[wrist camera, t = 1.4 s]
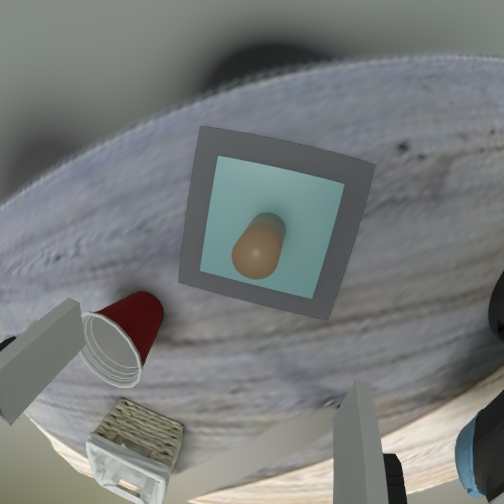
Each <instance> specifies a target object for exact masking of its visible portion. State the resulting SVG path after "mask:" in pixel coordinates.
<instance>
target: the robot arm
mask: <svg viewBox="0 0 504 504" xmlns="http://www.w3.org/2000/svg"><path fill="white" fill-rule="evenodd" d="M489 323H490V327H491V329H492V331H493V332H494V334H495V335H496V336H497V338H498V339H499V340H500V341H501V342H503V343H504V273H503V274H502V276H501V278H500V279H499V281H498V283H497V285H496V287H495V290H494V292H493V295H492V298H491V302H490V307H489ZM84 346H85V339H84V333H83V326H82V318H81V310H80V302H77V301H75V300H73V299H70V298H67V299H66V300H65V301H63V302H62V303H61V304H59V305H58V306H57V307H55V308H54V309H53V310H52V311H50V312H49V313H48V314H46V315H45V316H44V317H43V318H41V319H40V320H39V321H37V322H36V323H35V324H34V325H32V326H31V327H30V328H29V329H27V330H26V331H25V332H24V333H22V334H21V335H20V336H19V337H18V338H16V337H15V336H14V337H11V338H9V339H6V340H4V341H3V342H2V343H1V344H0V418H2V419H3V420H4V421H5V422H6V423H8V424H9V425H10V426H11V425H12V424H13V422H15V420H16V419H17V418H18V417H19V416H20V415H21V414H22V413H23V411H24V410H25V409H26V408H27V407H28V406H29V405H30V404H31V402H32V401H33V400H34V399H35V398H36V397H37V396H38V395H39V394H40V393H41V392H42V390H43V389H44V388H45V387H46V386H47V385H48V384H49V383H50V382H51V381H52V380H53V379H54V378H55V377H56V375H57V374H58V373H59V372H60V371H61V370H62V369H63V368H64V367H65V366H66V365H67V364H68V363H69V362H70V361H71V360H72V359H73V358H74V357H75V356H76V355H77V354H78V353H79V352H80V351H81V349H82V348H83V347H84ZM333 450H334V488H333V504H407V498H406V490H405V486H404V477H403V471H402V465H401V462H400V461H399V459H398V458H397V456H396V454H384V453H383V452H382V445H381V438H380V432H379V426H378V420H377V414H376V409H375V403H374V398H373V393H372V388H371V383H369V382H362V381H356V380H355V381H354V383H353V385H352V387H351V388H350V390H349V392H348V394H347V395H346V397H345V399H344V401H343V402H342V404H341V406H340V407H339V409H338V411H337V412H336V414H335V416H334V417H333ZM455 463H456V468H457V472H458V476H459V479H460V481H461V483H462V485H463V487H464V488H465V489H467V492H468V494H469V495H471V496H472V497H475V498H479V497H484V496H486V498H487V500H488V503H489V504H504V390H503V391H502V392H501V393H500V394H499V395H498V396H497V397H496V398H495V399H494V400H493V401H492V402H491V403H490V404H488V405H487V406H486V407H485V408H484V409H482V410H480V411H479V412H478V413H477V415H476V416H475V417H474V418H473V419H472V420H471V421H470V422H469V423H468V424H467V425H466V426H465V427H464V428H463V429H462V430H461V431H460V433H459V435H458V437H457V440H456V445H455Z"/></svg>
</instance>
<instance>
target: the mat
mask: <svg viewBox="0 0 504 504" xmlns="http://www.w3.org/2000/svg"><path fill="white" fill-rule="evenodd" d="M220 155H221V156H226V157H232V158H237V159H242V160H247V161H252V162H257V163H262V164H266V165H271V166H276V167H280V168H285V169H289V170H293V171H298V172H302V173H306V174H310V175H314V176H318V177H322V178H326V179H330V180H334V181H337V182H341V183H344V184H345V185H344V189H343V193H342V197H341V201H340V205H339V208H338V212H337V216H336V220H335V223H334V227H333V230H332V234H331V238H330V241H329V245H328V248H327V252H326V255H325V258H324V262H323V265H322V268H321V272H320V275H319V278H318V281H317V285H316V288H315V291H314V294H313V297H312V299H310V298H306V297H302V296H297V295H293V294H289V293H285V292H281V291H277V290H273V289H269V288H265V287H261V286H257V285H253V284H249V283H245V282H241V281H237V280H233V279H229V278H225V277H222V276H218V275H214V274H210V273H206V272H203V271H200V266H201V259H202V252H203V245H204V238H205V232H206V225H207V219H208V212H209V206H210V200H211V194H212V188H213V182H214V176H215V170H216V165H217V159H218V156H220ZM374 168H375V164H372V163H368V162H365V161H362V160H358V159H355V158H351V157H348V156H344V155H340V154H337V153H333V152H329V151H325V150H321V149H317V148H313V147H309V146H305V145H300V144H296V143H292V142H287V141H282V140H278V139H273V138H268V137H263V136H258V135H252V134H247V133H241V132H235V131H229V130H223V129H217V128H210V127H203V126H200V131H199V136H198V142H197V148H196V154H195V160H194V166H193V172H192V178H191V185H190V191H189V198H188V205H187V213H186V220H185V228H184V236H183V244H182V253H181V262H180V271H179V283H182V284H186V285H189V286H193V287H196V288H200V289H204V290H207V291H211V292H215V293H218V294H222V295H226V296H229V297H233V298H237V299H241V300H245V301H249V302H253V303H256V304H260V305H264V306H268V307H272V308H277V309H281V310H285V311H289V312H293V313H297V314H302V315H306V316H310V317H315V318H319V319H323V320H328V318H329V316H330V313H331V310H332V307H333V305H334V302H335V299H336V296H337V293H338V290H339V287H340V285H341V282H342V279H343V276H344V273H345V270H346V267H347V263H348V260H349V257H350V254H351V251H352V248H353V244H354V241H355V238H356V234H357V231H358V228H359V224H360V221H361V217H362V214H363V210H364V206H365V203H366V199H367V195H368V192H369V188H370V184H371V180H372V176H373V172H374Z"/></svg>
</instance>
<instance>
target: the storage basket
mask: <svg viewBox="0 0 504 504" xmlns="http://www.w3.org/2000/svg"><path fill="white" fill-rule="evenodd" d="M126 402H127V403H126ZM183 429H184V427H183V426H182V425H181V424H180V423H178V422H176V421H174V420H170V419H168V418H166V417H164V416H161V415H159V414H157V413H155V412H153V411H150V410H148V409H146V408H144V407H142V406H139V405H137V404H136V403H134V402H132V401H129V400H126V399H123V398H121V399H120V400H119V401H118V402H117V403H116V404H115V406H114V408H113V409H111V410H110V412H109V414H108V415H106V416H105V417H104V419H103V421H102V422H101V423H100V425H99V426H98V427H97V429H96V430H95V431H94V432H90V434H89V436H88V439H87V441H86V450H87V455H88V459H89V462H90V465H91V469H92V473H93V476H94V478H95V479H96V481H97V482H98V483H99V485H100V486H103V487H105V488H106V489H108V490H110V491H112V492H114V493H116V494H118V495H120V496H122V497H124V498H126V499H128V500H130V501H132V502H134V503H137V504H163V501H164V497H165V493H166V491H167V486H168V483H169V479H170V475H171V473H172V472H173V471H172V470H173V469H174V465H175V463H176V460H177V458H178V454H179V451H180V448H181V443H182V439H183ZM120 479H124V480H127V481H129V482H131V483H133V484H135V485H138V486H140V487H141V488H142V489H143V491H142V493H141V495H140V494H138V493H136V492H134V491H131V490H130V489H127V488H125V487H123V486H121V485H118V483H119V480H120Z"/></svg>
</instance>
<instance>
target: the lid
mask: <svg viewBox="0 0 504 504" xmlns="http://www.w3.org/2000/svg"><path fill="white" fill-rule="evenodd" d="M344 185H345V184H344V183H341V182H337V181H334V180H330V179H326V178H322V177H318V176H314V175H310V174H306V173H302V172H298V171H293V170H289V169H285V168H280V167H276V166H271V165H266V164H262V163H257V162H252V161H247V160H242V159H237V158H232V157H226V156H221V155H220V156H218V159H217V165H216V170H215V176H214V182H213V188H212V194H211V200H210V206H209V212H208V219H207V225H206V232H205V238H204V245H203V252H202V259H201V266H200V271H203V272H206V273H210V274H214V275H218V276H222V277H225V278H229V279H233V280H237V281H241V282H245V283H249V284H253V285H257V286H261V287H265V288H269V289H273V290H277V291H281V292H285V293H289V294H293V295H297V296H302V297H306V298H310V299H312V297H313V294H314V291H315V288H316V285H317V281H318V278H319V275H320V272H321V268H322V265H323V262H324V258H325V255H326V252H327V248H328V245H329V241H330V238H331V234H332V230H333V227H334V223H335V220H336V216H337V212H338V208H339V205H340V201H341V197H342V193H343V189H344Z"/></svg>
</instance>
